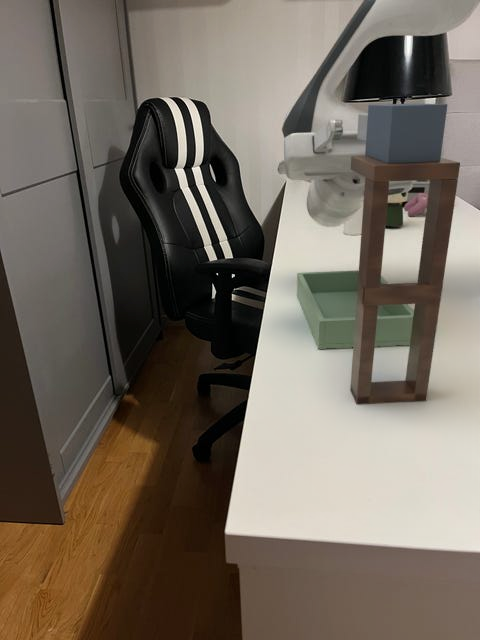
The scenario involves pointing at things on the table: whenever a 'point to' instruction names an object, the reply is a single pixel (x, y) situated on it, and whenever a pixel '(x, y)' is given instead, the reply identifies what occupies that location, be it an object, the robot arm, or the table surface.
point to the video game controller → (416, 205)
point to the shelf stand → (419, 293)
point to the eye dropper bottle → (354, 223)
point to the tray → (347, 311)
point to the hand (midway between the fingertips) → (377, 124)
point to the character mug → (395, 209)
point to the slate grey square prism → (403, 132)
